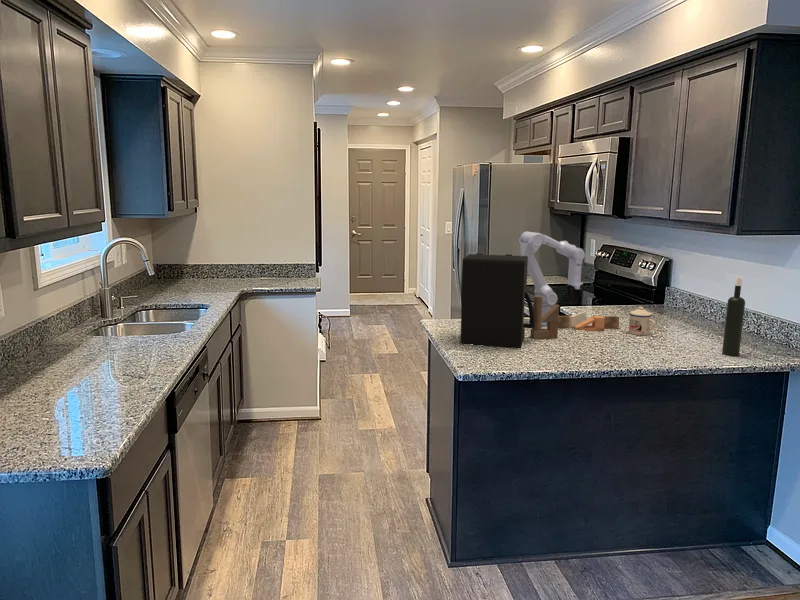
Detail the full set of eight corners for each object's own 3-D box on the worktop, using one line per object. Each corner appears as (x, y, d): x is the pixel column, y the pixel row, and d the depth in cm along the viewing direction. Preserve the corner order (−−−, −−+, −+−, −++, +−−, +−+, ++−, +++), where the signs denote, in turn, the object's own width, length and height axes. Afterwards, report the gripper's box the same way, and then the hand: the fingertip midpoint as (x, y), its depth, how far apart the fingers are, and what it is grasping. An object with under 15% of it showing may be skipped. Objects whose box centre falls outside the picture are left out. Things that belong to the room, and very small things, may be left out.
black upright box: (534, 337, 252) (538, 255, 246) (531, 349, 234) (535, 260, 227) (468, 333, 260) (470, 252, 253) (460, 344, 241) (462, 258, 235)
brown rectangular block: (555, 328, 269) (556, 316, 268) (554, 327, 271) (555, 315, 270) (618, 328, 269) (619, 316, 268) (617, 328, 270) (618, 316, 269)
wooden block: (557, 338, 251) (560, 296, 248) (533, 339, 250) (535, 296, 246) (554, 336, 255) (556, 294, 252) (530, 337, 253) (531, 295, 250)
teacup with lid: (623, 332, 262) (625, 306, 260) (637, 330, 267) (639, 304, 265) (646, 338, 252) (648, 311, 250) (660, 335, 257) (663, 309, 254)
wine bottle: (719, 354, 229) (728, 276, 223) (724, 351, 233) (733, 274, 227) (736, 357, 225) (745, 278, 219) (741, 354, 229) (750, 276, 223)
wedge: (576, 331, 265) (577, 317, 264) (573, 328, 269) (574, 315, 268) (603, 331, 264) (604, 318, 263) (600, 328, 269) (601, 315, 268)
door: (571, 327, 269) (572, 316, 268) (569, 327, 270) (569, 316, 269) (585, 322, 280) (586, 311, 280) (583, 321, 281) (583, 311, 280)
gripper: (587, 275, 271) (585, 305, 274) (579, 271, 286) (577, 299, 288) (571, 275, 272) (570, 304, 274) (564, 271, 286) (562, 299, 288)
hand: (572, 302), depth 281 cm, fingers open, 7 cm apart
